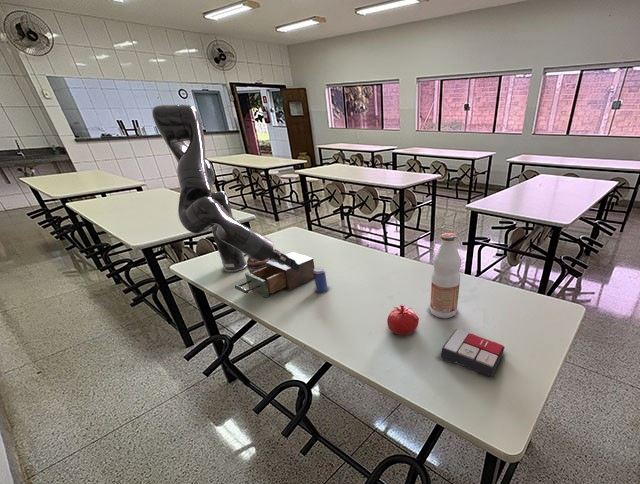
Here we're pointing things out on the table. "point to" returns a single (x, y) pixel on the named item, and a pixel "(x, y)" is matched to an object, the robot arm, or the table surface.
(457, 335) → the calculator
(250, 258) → the cupcake
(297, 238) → the table surface
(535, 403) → the table surface
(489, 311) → the table surface
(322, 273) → the pepper shaker
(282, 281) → the drawer
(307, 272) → the cabinet
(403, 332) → the pomegranate
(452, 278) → the fruit juice
